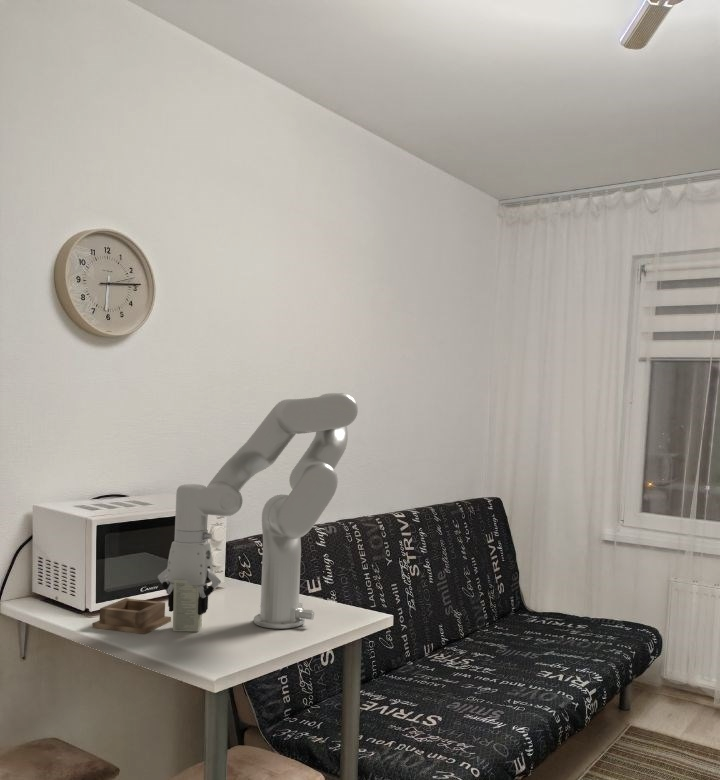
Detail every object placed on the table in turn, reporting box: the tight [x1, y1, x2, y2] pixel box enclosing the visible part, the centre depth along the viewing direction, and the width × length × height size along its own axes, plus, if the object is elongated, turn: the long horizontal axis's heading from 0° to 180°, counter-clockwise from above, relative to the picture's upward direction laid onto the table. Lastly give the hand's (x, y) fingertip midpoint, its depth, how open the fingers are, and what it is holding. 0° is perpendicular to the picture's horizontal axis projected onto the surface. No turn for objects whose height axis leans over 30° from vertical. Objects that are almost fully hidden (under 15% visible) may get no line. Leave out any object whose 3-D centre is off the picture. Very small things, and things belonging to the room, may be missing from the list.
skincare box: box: [172, 580, 203, 633], centre depth 184 cm, size 6×4×12 cm
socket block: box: [91, 597, 172, 635], centre depth 187 cm, size 14×12×4 cm
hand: (187, 611), depth 184 cm, fingers closed on skincare box, 6 cm apart
